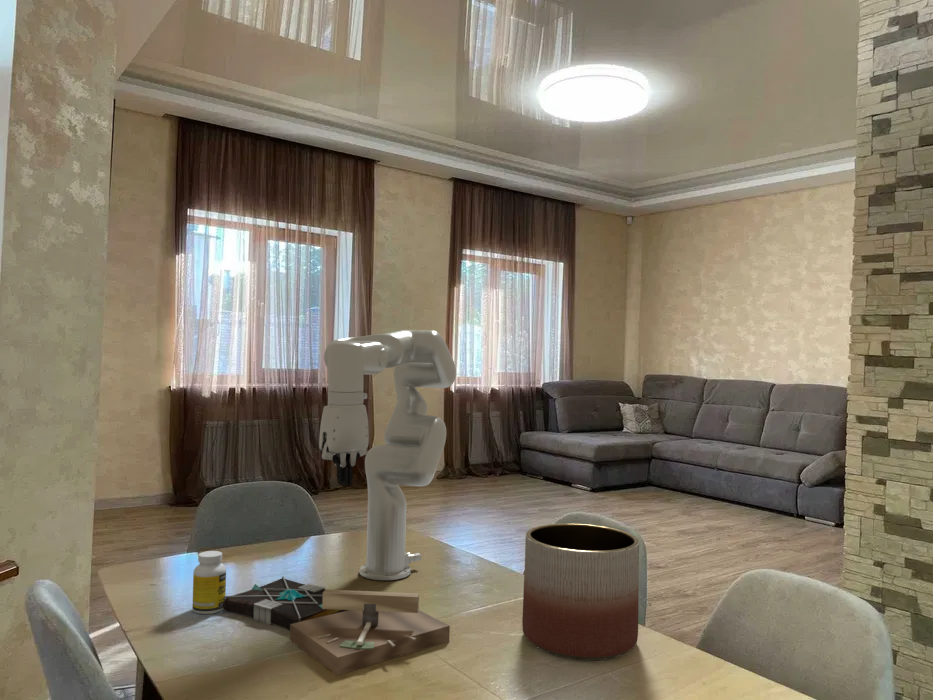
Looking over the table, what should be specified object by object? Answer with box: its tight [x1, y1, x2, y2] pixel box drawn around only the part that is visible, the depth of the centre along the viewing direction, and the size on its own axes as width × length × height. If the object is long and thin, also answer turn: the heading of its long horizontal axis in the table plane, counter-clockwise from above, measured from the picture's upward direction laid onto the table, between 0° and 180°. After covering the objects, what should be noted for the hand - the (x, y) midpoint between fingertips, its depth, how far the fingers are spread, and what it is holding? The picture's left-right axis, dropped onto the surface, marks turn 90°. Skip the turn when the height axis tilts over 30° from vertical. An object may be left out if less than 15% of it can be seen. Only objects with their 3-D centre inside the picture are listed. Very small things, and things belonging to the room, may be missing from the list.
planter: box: [521, 522, 640, 661], centre depth 138 cm, size 22×22×20 cm
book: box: [222, 575, 348, 630], centre depth 149 cm, size 22×17×5 cm
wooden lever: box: [322, 588, 420, 645], centre depth 130 cm, size 12×18×6 cm, turn 87°
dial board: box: [289, 609, 451, 676], centre depth 134 cm, size 24×20×3 cm
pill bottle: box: [191, 550, 227, 615], centre depth 148 cm, size 6×6×12 cm
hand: (344, 484), depth 153 cm, fingers closed
